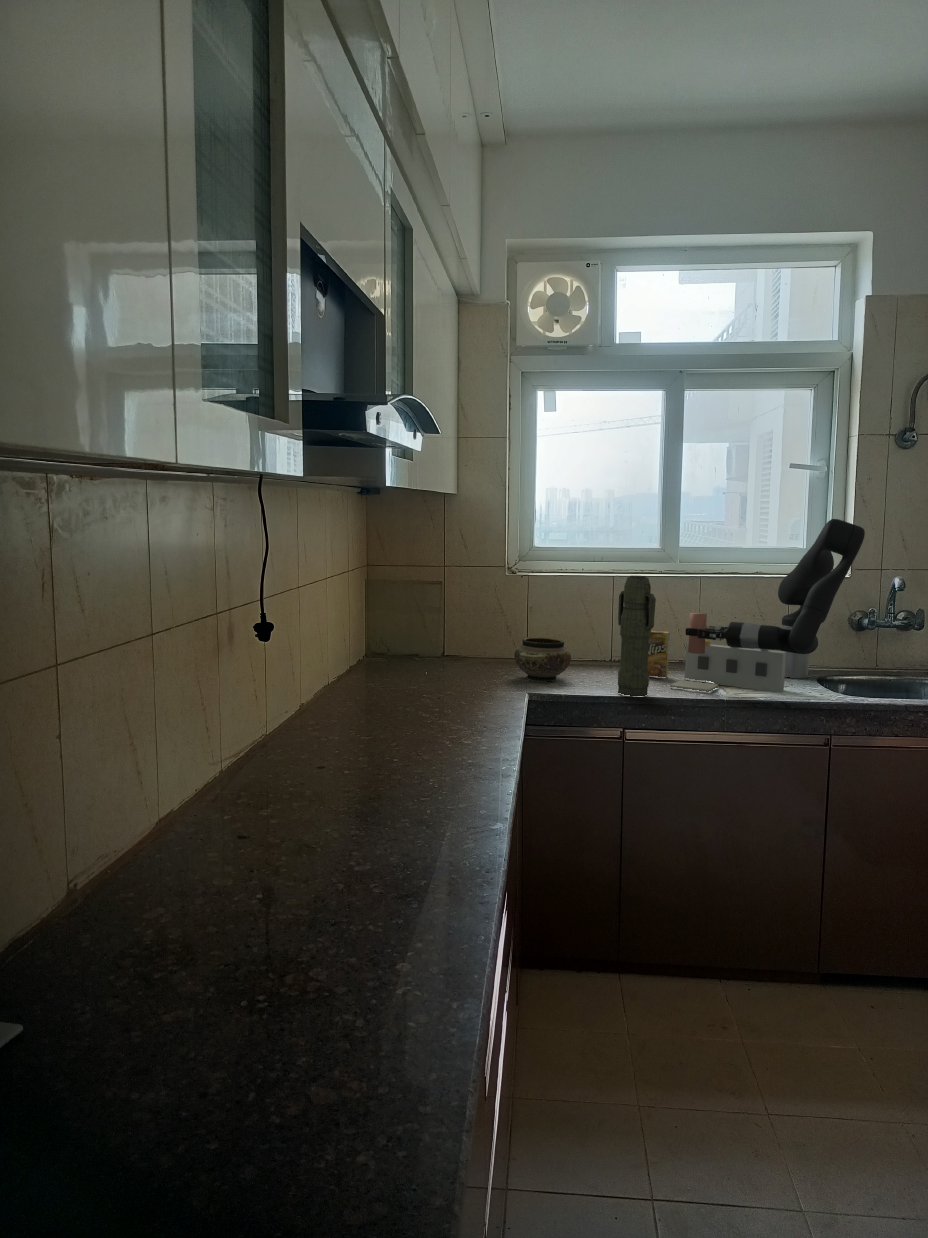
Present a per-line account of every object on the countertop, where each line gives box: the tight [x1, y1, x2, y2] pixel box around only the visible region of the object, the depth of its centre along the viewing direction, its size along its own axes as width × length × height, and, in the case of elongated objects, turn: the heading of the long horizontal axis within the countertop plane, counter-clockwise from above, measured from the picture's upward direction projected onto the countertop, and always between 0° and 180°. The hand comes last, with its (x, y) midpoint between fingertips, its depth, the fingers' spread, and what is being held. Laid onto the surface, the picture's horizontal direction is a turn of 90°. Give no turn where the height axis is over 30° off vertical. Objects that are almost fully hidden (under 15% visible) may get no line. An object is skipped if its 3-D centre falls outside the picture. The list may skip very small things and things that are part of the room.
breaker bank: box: [684, 639, 786, 693], centre depth 272 cm, size 6×30×14 cm, turn 57°
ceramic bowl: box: [513, 636, 572, 683], centre depth 275 cm, size 24×18×15 cm
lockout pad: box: [669, 679, 720, 692], centre depth 266 cm, size 10×12×1 cm
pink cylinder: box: [687, 612, 708, 654], centre depth 264 cm, size 5×5×12 cm
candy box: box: [648, 630, 671, 678], centre depth 283 cm, size 9×4×15 cm, turn 70°
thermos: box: [617, 575, 657, 697], centre depth 254 cm, size 9×12×35 cm
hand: (689, 630), depth 265 cm, fingers closed on pink cylinder, 5 cm apart
